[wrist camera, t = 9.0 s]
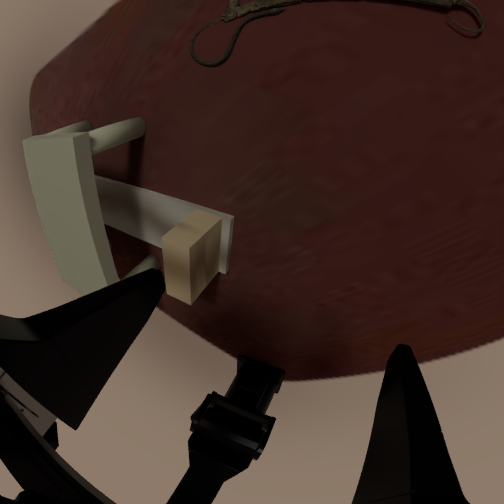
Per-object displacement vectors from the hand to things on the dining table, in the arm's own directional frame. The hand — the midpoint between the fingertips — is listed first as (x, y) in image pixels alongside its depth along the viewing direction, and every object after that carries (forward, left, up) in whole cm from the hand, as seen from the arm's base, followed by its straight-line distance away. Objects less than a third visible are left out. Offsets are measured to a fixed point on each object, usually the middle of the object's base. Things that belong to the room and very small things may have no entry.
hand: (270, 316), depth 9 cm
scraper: (-6, +18, -13) cm, 23 cm away
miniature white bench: (-5, +22, -12) cm, 25 cm away
